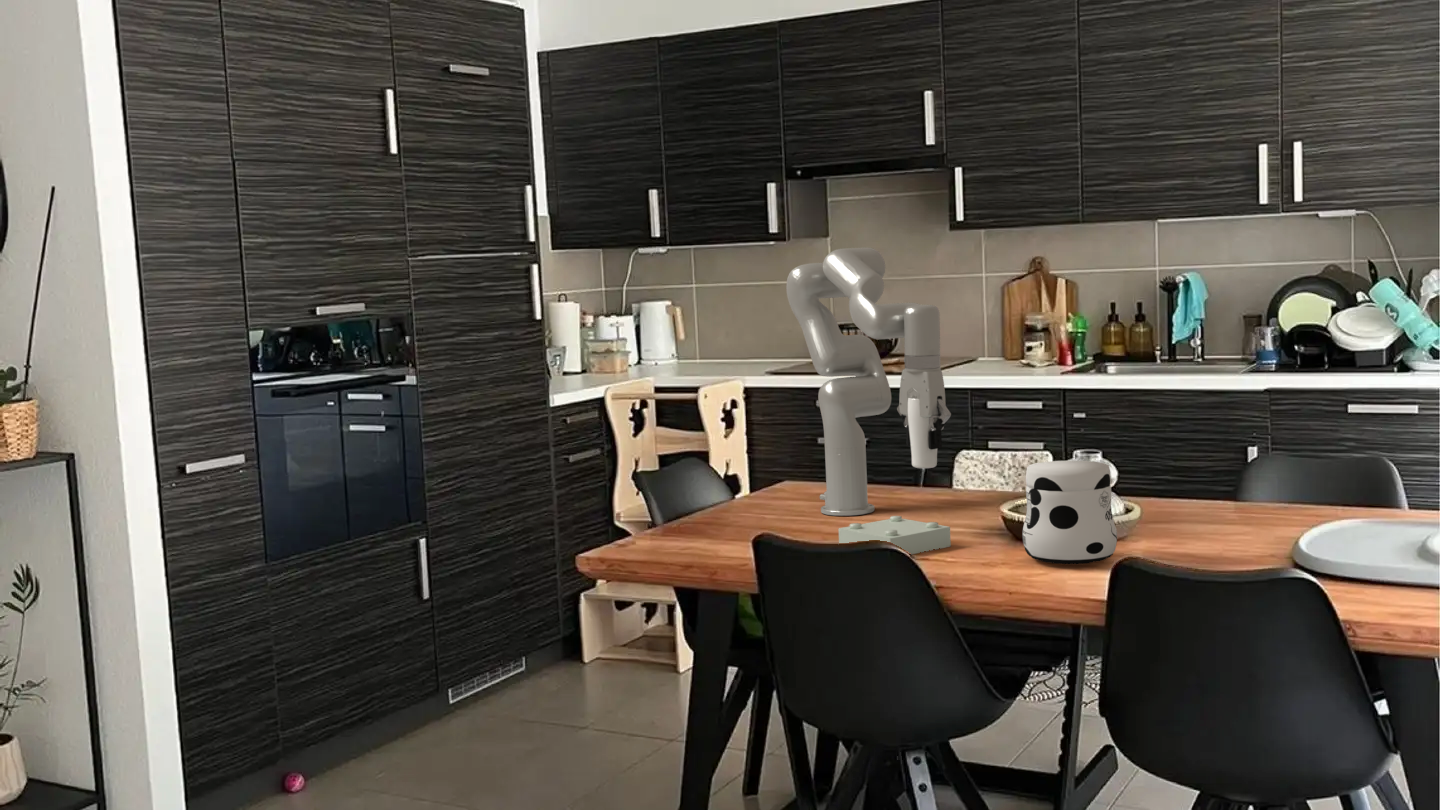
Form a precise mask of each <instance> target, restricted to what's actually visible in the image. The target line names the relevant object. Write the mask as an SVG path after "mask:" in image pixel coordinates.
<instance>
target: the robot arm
mask: <svg viewBox="0 0 1440 810" xmlns="http://www.w3.org/2000/svg"><path fill="white" fill-rule="evenodd" d="M885 274H886V262H885V258H884V257H883V255H882V253H880V251H878V250H877V249H875V248H872V247H850V248H849V247H847V248H845V247H844V248H838V249H834V250H832V251H831V252H829V253H828V254H827V255H826V256H825V258H824V259H823V262H811V263H804V264H800V265H798V266H796V267H794V268H793V269H791V270H790V272H789V274H788V276H787V279H786V288H785V289H786V297H787V301H788V304H789V307H790V309H791V312H792V313H793V315H794V317H795V318H796V321H797V322H798V324H799V326H800V328H801V330H802V333H803V337H804V340H805V343H806V346H807V349H808V353H809V356H810V359H811V362H812V365H813V368H814V369H815V372H817V374H818V375H820V376H822V377H828V378H829V377H831V378H833V377H837V378H833V379H829V380H827V381H826V382H824V383H823V384H822V385H821V386H820V388H819V389H818V396H817V397H818V399H817V400H818V406H819V409H820V413H821V414H820V415H821V419H822V425H823V439H824V458H825V459H824V460H825V461H824V462H825V481H826V482H825V485H826V490H825V491H824V493H821V494H820V495H819V500H823V501H824V505H822V506H821V507H820V513H822V514H823V515H828V516H836V517H837V516H838V517H839V516H840V517H844V516H846V517H847V516H859V515H860V516H862V515H866V514H870V513H873V512H875V505H874V504H872V503H869V501H868V476H867V452H866V451H867V450H866V448H867V447H866V437H865V433H864V431H863V429H862V427H861V426H860V424H859V422H858V421H857V419H856V418H860V417H871V416H876V415H877V416H879V415H881V414H884V413H885V412H887V411H888V410H889V409H890V407H891V404H892V392H891V387H890V384H889V380H888V378H887V373H886V372H885V369H884V366H883V365H884V364H883V363H882V360H881V357H880V354H879V351H878V349H877V347H876V345H875V343H874V342H873V341H872V339H873V340H889V339H903V340H904V342H903V343H904V347H903V348H904V358H903V362H904V369H902V371H901V378H900V384H899V404H898V406H897V407H896V410H897V412H898V414H899V416H900V419H901V420H902V422H903V426H904V427H905V431H906V439H905V440H906V446H908V447H911V444H910V434H909V425H908V398H911V399H919V404H920V416H921V417H922V418H929V425H930V429H931V430H930V431H929V432H928V439H929V449H937V450H938V449H942V446H943V445H942V442H943V441H942V430H944V427H945V425H946V424H947V421H948V420H949V419H950V418H951V416H952V413H951V411H950V410H949V409H948V407H947V406H946V391H945V388H946V387H945V381H944V375H943V370H942V369H941V318H940V317H941V314H940V308H939V307H938V306H937V305H933V304H932V305H931V304H920V303H916V302H896V303H895V302H894V303H893V302H892V303H881V304H879V303H878V304H877V302H878V301H880V299H881V297H882V295H883V294H884V290H885V282H884V279H883V277H884V276H885ZM834 298H848V300H849V301H848V312H849V314H850V317H851V320H852V322H853V324H854V325H855V326H856V327H857V328H858V329H859V330H860V332H863V334H865V335H862V334H849V335H847V334H846V335H845V334H843V333H842V332H841V329H840V327H839V324H838V321H837V318H836V316H835V315H834V314H833V312H832V311H831V310H830V309H829V308H828V307H827V306H826V305H825V304H823V303H822V302H821V301H820V300H821V299H834ZM843 376H847V377H843ZM936 408H938V415H934V414H935V411H936ZM934 418H937V421H936V422H934Z"/></svg>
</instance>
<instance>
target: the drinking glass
mask: <svg viewBox="0 0 1440 810" xmlns="http://www.w3.org/2000/svg"><path fill="white" fill-rule="evenodd" d="M934 415H938V408H936V411H935V414H934ZM936 421H937V418H934V422H936ZM908 425H909V434H910V444H911V446H910V453H911V454H910V455H911V466H912V467H913V468H917V469H931V468H935V467H937V465H938V464H937V463H938V449H929V439H928V432H929V431H930V430H931V429H930V425H929V418H922V417H921V416H920V404H919V399H911V398H908Z"/></svg>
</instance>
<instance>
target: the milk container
mask: <svg viewBox="0 0 1440 810" xmlns="http://www.w3.org/2000/svg"><path fill="white" fill-rule="evenodd" d="M1025 472H1026V473H1025V483H1026V484H1025V485H1026V487H1025V497H1026V498H1025V499H1026V515H1025V520H1024V523H1023V527H1022V543H1023V546H1024V551H1025V552H1026V554H1027V555H1028V556H1029V557H1030V558H1032V559H1033V560H1036V561H1039V562H1042V563H1047V564H1048V563H1049V564H1055V565H1084V564H1093V563H1098V562H1101V561H1105V560H1106V559H1110V558H1111V557H1112V556H1113V555H1114V553H1115V551H1116V547H1117V542H1118V529H1117V527H1116V524H1115V520H1114V516H1113V512H1112V511H1113V510H1112V485H1111V482H1112V477H1111V476H1112V475H1111V468H1110V465H1109V464H1107V463H1104V462H1100V461H1099V462H1098V461H1090V460H1052V461H1051V460H1050V461H1044V462H1036V463H1032V464H1029V465H1027V467H1026V471H1025Z"/></svg>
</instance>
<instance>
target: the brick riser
mask: <svg viewBox="0 0 1440 810" xmlns="http://www.w3.org/2000/svg"><path fill="white" fill-rule="evenodd" d="M869 540H880V541H887V542H891V543H893V544H895V545H897V546H899V547H901V548H902V549H904V550H906V551H908V552H909V553H911V555H915V554H919V553H920V552H921V553H925V552H924V551H926V552H929V550H930V551H934V550H933V549H935V550H939V548H940V549H944V548H949V547H952V546H951V544H952V543H951V540H952V539H951V526H948V525H942V524H939V522H936V521H929V522H925V521H924V522H923V521H918V520H913V519H907V518H902V516H901V515H891V516H890V517H889V518H888V519H882V520H877V521H871V522H866V523H858V522H857V523H849V525H848V526H843V527H839V528H838V544H839V543H849V542H857V541H869Z"/></svg>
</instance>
